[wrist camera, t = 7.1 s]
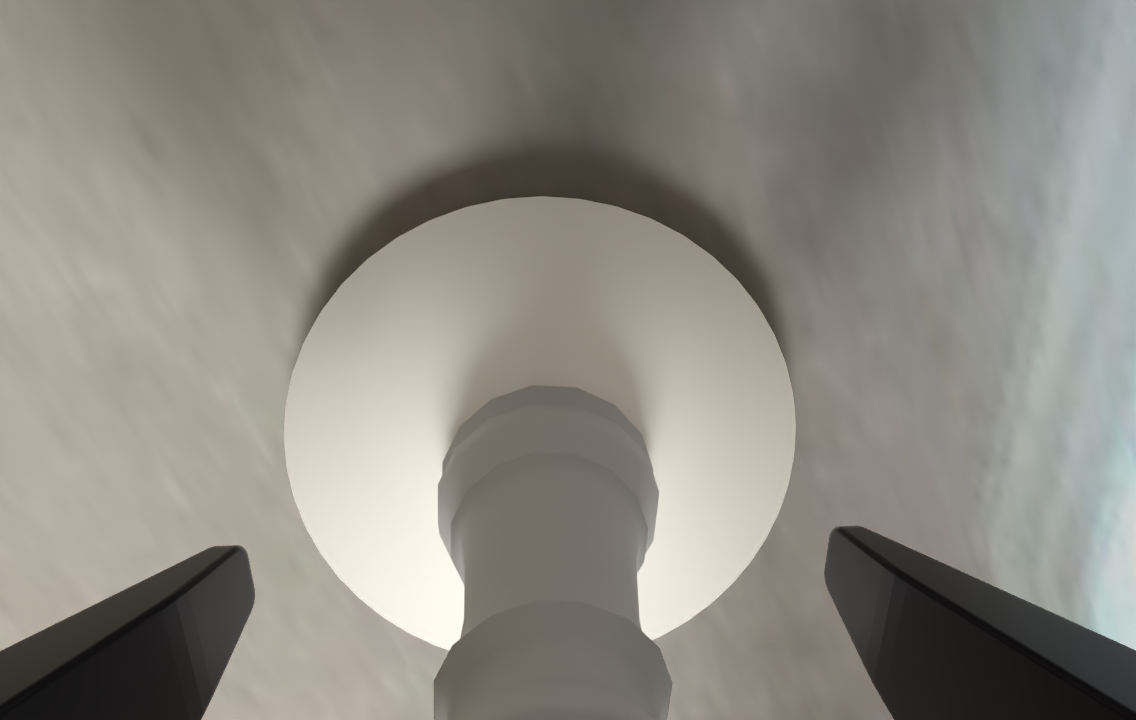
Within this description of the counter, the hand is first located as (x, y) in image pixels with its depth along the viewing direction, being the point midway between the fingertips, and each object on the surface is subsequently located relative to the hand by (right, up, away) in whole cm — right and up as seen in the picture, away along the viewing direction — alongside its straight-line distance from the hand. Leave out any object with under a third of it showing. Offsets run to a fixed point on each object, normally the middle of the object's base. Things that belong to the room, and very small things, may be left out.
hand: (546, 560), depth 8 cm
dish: (0, +1, +4) cm, 4 cm away
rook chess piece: (0, +1, +4) cm, 4 cm away
